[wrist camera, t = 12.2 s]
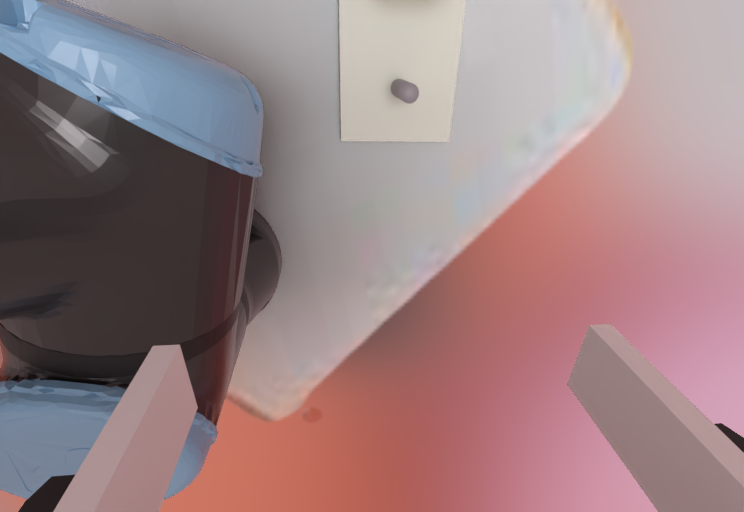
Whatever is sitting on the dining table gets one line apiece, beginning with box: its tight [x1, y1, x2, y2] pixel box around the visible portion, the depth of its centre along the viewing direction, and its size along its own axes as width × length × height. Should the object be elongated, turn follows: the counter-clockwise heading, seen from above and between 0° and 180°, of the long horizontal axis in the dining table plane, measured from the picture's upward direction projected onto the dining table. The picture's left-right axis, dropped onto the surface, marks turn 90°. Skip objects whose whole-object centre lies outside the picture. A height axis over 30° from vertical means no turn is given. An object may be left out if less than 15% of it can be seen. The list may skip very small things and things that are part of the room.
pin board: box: [339, 0, 466, 142], centre depth 28 cm, size 10×18×6 cm, turn 179°
